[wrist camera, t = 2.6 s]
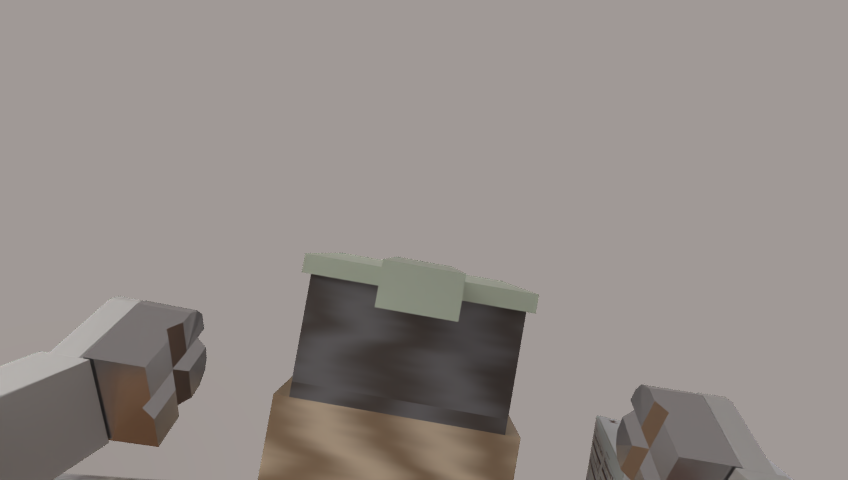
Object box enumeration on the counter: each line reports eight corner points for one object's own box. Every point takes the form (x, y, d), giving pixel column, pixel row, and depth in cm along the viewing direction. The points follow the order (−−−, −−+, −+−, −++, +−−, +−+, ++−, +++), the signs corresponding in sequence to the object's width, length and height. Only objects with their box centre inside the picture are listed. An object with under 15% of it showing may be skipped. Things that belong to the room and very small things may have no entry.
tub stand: (221, 677, 32) (295, 270, 32) (283, 546, 46) (334, 264, 46) (472, 722, 31) (541, 313, 32) (457, 577, 45) (505, 295, 46)
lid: (237, 282, 21) (245, 235, 21) (340, 265, 47) (344, 244, 47) (595, 346, 21) (603, 298, 21) (499, 293, 47) (503, 272, 47)
